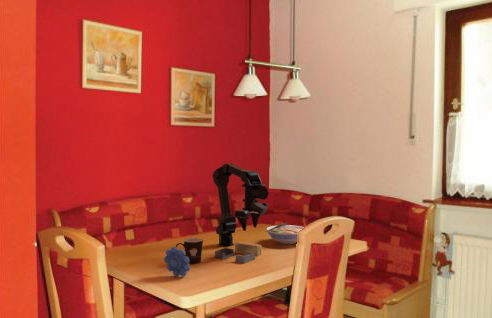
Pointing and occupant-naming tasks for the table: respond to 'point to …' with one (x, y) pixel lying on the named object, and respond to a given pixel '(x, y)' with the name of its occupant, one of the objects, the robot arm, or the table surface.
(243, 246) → the brown rectangular block
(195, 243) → the coffee mug
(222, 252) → the grey frame
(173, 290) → the table surface
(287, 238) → the ramen bowl
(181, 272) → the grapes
